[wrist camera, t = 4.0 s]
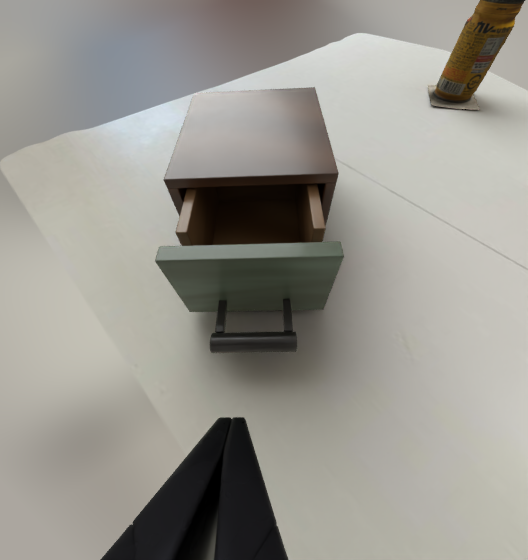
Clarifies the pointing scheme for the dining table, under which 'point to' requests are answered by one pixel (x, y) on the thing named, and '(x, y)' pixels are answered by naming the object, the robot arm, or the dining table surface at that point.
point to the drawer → (252, 258)
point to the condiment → (474, 53)
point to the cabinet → (253, 143)
